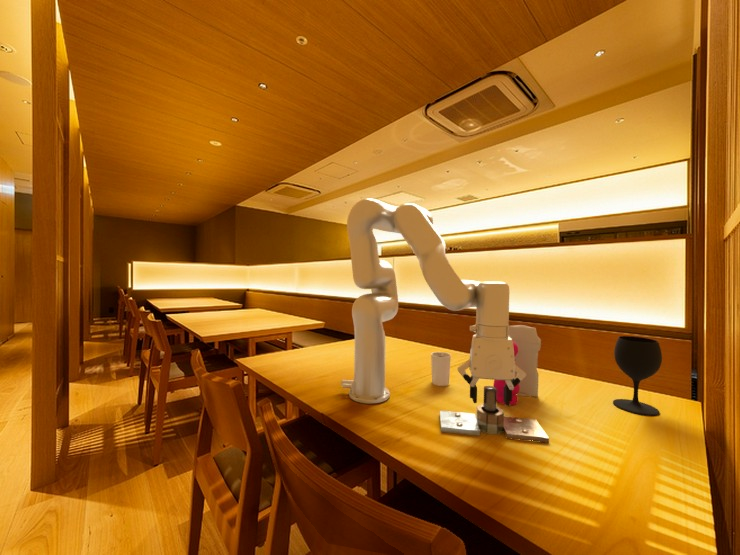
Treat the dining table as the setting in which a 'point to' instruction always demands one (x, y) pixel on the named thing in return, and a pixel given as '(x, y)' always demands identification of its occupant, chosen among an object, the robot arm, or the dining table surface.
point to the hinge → (492, 425)
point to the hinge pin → (490, 399)
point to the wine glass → (637, 369)
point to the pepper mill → (500, 383)
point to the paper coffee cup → (440, 368)
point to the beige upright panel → (526, 357)
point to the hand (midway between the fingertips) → (490, 401)
